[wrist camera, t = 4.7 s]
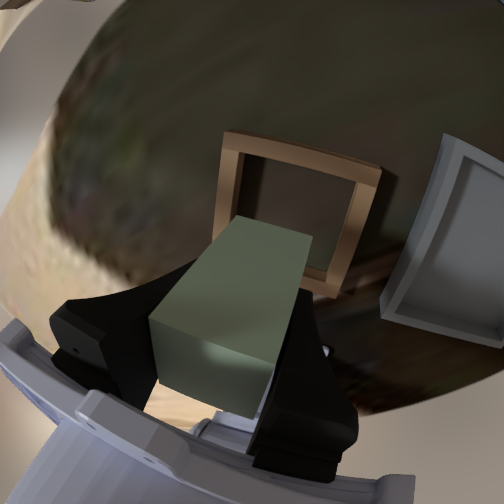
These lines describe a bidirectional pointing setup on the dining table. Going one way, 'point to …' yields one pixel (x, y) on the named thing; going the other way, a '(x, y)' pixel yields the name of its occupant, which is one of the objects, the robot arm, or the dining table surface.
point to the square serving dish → (11, 4)
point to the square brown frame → (308, 157)
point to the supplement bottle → (84, 0)
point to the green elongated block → (230, 316)
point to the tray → (454, 251)
